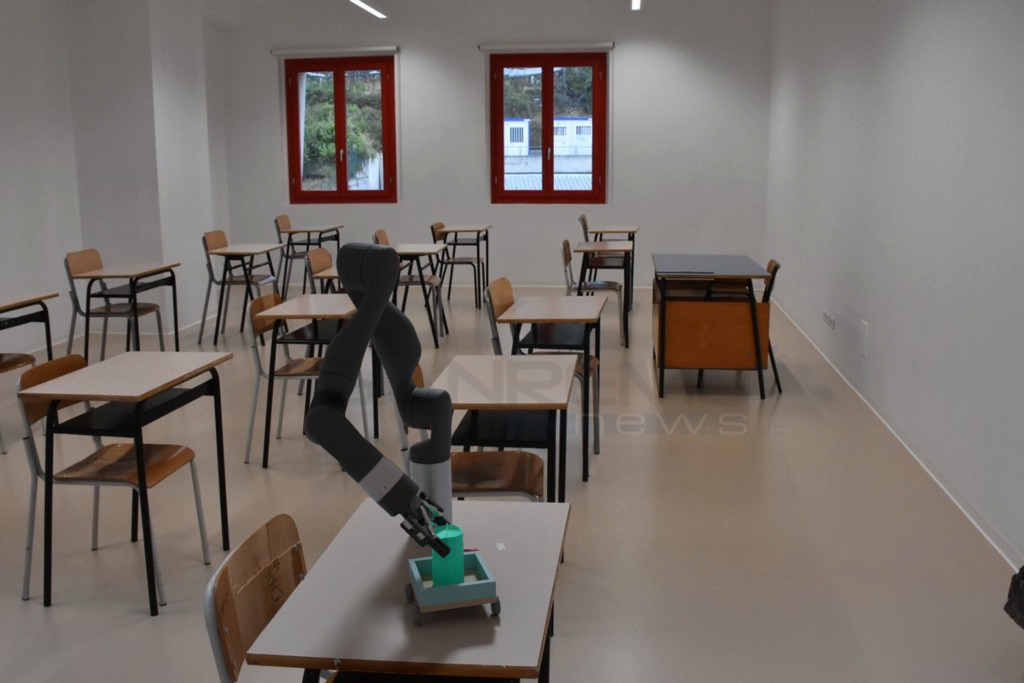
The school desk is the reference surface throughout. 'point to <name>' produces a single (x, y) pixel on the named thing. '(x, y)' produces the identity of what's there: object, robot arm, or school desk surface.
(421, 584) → the cart
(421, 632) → the school desk surface
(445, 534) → the candle
